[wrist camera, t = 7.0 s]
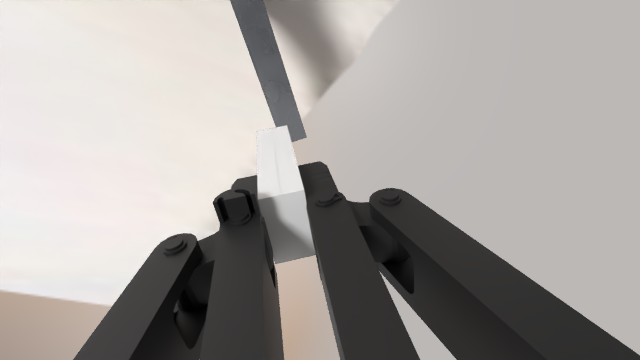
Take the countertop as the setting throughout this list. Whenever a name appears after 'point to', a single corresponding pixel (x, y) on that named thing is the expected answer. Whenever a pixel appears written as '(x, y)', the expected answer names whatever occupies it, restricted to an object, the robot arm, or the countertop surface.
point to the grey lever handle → (268, 65)
